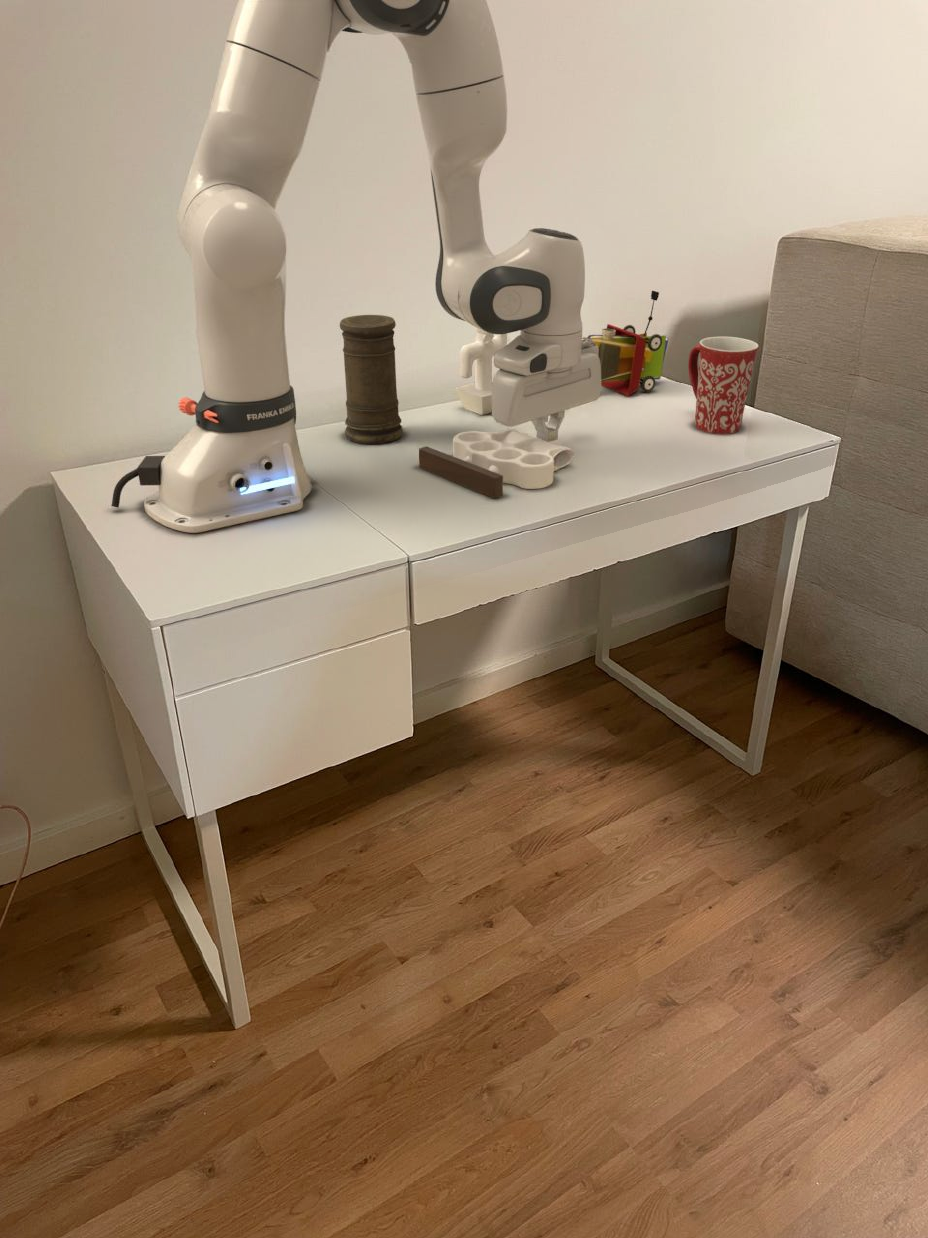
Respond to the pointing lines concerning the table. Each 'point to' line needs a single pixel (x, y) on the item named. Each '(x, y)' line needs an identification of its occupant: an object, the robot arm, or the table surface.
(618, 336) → the robot toy
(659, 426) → the table surface
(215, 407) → the robot arm
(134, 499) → the table surface
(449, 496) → the table surface
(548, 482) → the cream flat holed block
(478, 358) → the figurine
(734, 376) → the mug
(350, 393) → the container
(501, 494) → the bar
